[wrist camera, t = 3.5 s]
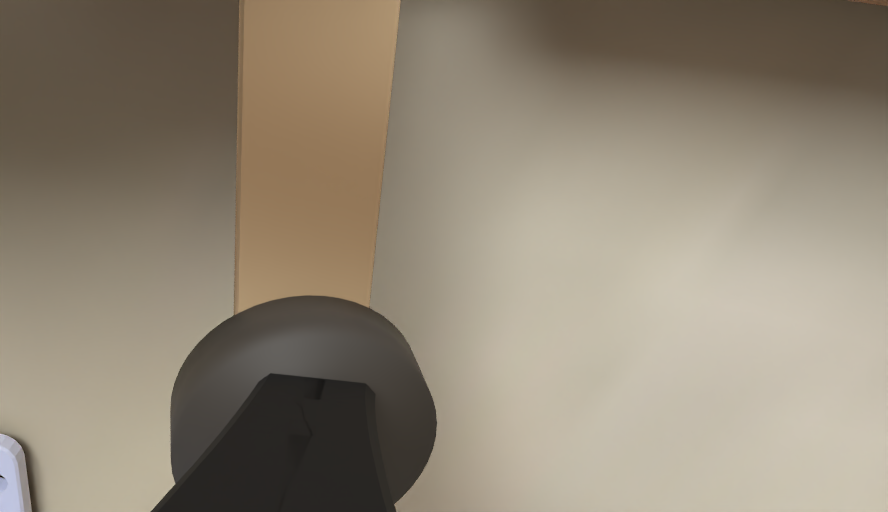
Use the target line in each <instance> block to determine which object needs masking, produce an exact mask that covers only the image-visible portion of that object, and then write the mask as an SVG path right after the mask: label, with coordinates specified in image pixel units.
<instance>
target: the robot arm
mask: <svg viewBox="0 0 888 512" xmlns="http://www.w3.org/2000/svg"><path fill="white" fill-rule="evenodd" d="M375 395H376V394H375V393H374V392H373V391H372V389H371V388H370V387H369V386H368V385H367V384H366V383H359V382H349V381H340V380H331V379H321V378H312V377H302V376H293V375H283V374H274V373H270V374H269V375H267V376H266V377H264V378H263V379H262V380H260V381H259V382H258V383H257V385H256V386H255V388H254V389H253V391H252V392H251V393H250V395H249V396H248V398H247V399H246V400H245V402H244V403H243V404H242V406H241V407H240V408H239V410H238V411H237V412H236V413H235V415H234V416H233V417H232V419H231V420H230V421H229V422H228V424H227V425H226V426H225V427H224V429H223V430H222V431H221V432H220V434H219V435H218V436H217V437H216V438H215V440H214V441H213V442H212V443H211V444H210V446H209V447H208V448H207V449H206V450H205V451H204V453H203V454H202V455H201V456H200V457H199V459H198V460H197V461H196V462H195V463H194V464H193V465H192V466H191V468H190V469H189V470H188V471H187V472H186V473H185V474H184V475H183V476H182V478H181V479H180V480H179V481H178V482H177V483H176V484H175V485H174V486H173V488H172V489H171V490H170V491H169V492H168V493H167V494H166V495H165V496H164V498H163V499H162V500H161V501H160V502H159V503H158V504H157V505H156V506H155V507H154V509H153V510H152V511H151V512H396V509H395V506H394V503H393V500H392V496H391V492H390V488H389V485H388V481H387V477H386V472H385V468H384V463H383V459H382V454H381V449H380V444H379V438H378V432H377V424H376V413H375ZM0 475H2V476H3V477H4V478H5V479H4V478H1V477H0V512H32V508H31V500H30V493H29V485H28V477H27V469H26V462H25V454H24V452H23V449H22V447H21V446H20V445H19V443H18V442H17V441H16V440H15V439H13V438H11V437H9V436H8V435H4V434H0Z"/></svg>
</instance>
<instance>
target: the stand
mask: <svg viewBox="0 0 888 512" xmlns="http://www.w3.org/2000/svg"><path fill="white" fill-rule="evenodd" d="M847 1H854V2H861V3H868V4H876V5H883V6H888V0H847Z"/></svg>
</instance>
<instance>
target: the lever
mask: <svg viewBox="0 0 888 512" xmlns="http://www.w3.org/2000/svg"><path fill="white" fill-rule="evenodd" d="M400 2H401V0H239V44H238V104H237V163H236V222H235V281H234V316H232V317H231V318H229V319H227V320H226V321H224V322H222V323H221V324H220V325H218V326H217V327H216V328H214V329H213V330H212V331H210V332H209V333H208V334H207V335H206V336H205V337H204V338H203V339H202V340H201V341H200V342H199V343H198V344H197V345H196V346H195V348H194V349H193V350H192V352H191V353H190V354H189V355H188V357H187V358H186V360H185V362H184V363H183V365H182V367H181V369H180V371H179V373H178V376H177V378H176V381H175V383H174V387H173V392H172V396H171V465H172V474H173V477H174V480H175V483H177V482H178V481H179V480H180V479H181V478H182V476H183V475H184V474H185V473H186V472H187V471H188V470H189V469H190V468H191V466H192V465H193V464H194V463H195V462H196V461H197V460H198V459H199V457H200V456H201V455H202V454H203V453H204V451H205V450H206V449H207V448H208V447H209V446H210V444H211V443H212V442H213V441H214V440H215V438H216V437H217V436H218V435H219V434H220V432H221V431H222V430H223V429H224V427H225V426H226V425H227V424H228V422H229V421H230V420H231V419H232V417H233V416H234V415H235V413H236V412H237V411H238V410H239V408H240V407H241V406H242V404H243V403H244V402H245V400H246V399H247V398H248V396H249V395H250V393H251V392H252V391H253V389H254V388H255V386H256V385H257V383H258V382H259V381H260V380H262V379H263V378H264V377H266V376H267V375H269V374H270V373H274V374H283V375H293V376H302V377H312V378H321V379H331V380H340V381H349V382H359V383H366V384H367V385H368V386H369V387H370V388H371V389H372V391H373V392H374V393H375V394H376V395H375V413H376V424H377V432H378V438H379V444H380V449H381V454H382V459H383V463H384V468H385V472H386V477H387V481H388V485H389V488H390V492H391V496H392V500H393V503H394V504H395V503H396V502H397V501H398V500H399V499H400V498H401V497H402V496H403V495H404V494H405V493H406V492H407V491H408V490H409V489H410V488H411V487H412V485H413V484H414V483H415V481H416V480H417V479H418V477H419V476H420V474H421V473H422V471H423V469H424V467H425V466H426V464H427V462H428V460H429V457H430V455H431V452H432V449H433V446H434V441H435V437H436V426H437V420H436V410H435V406H434V402H433V398H432V396H431V394H430V391H429V389H428V387H427V384H426V382H425V380H424V378H423V375H422V373H421V371H420V368H419V366H418V364H417V362H416V359H415V357H414V355H413V352H412V350H411V348H410V346H409V344H408V342H407V341H406V339H405V338H404V336H403V335H402V333H401V332H400V331H399V330H398V329H397V328H396V327H395V326H394V325H393V324H392V323H391V322H390V321H388V320H387V319H386V318H385V317H383V316H382V315H380V314H379V313H377V312H375V311H374V310H372V309H370V308H369V303H370V293H371V284H372V274H373V264H374V254H375V245H376V235H377V225H378V216H379V206H380V196H381V186H382V177H383V167H384V157H385V148H386V138H387V128H388V118H389V109H390V99H391V89H392V80H393V70H394V60H395V50H396V41H397V31H398V21H399V11H400Z"/></svg>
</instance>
